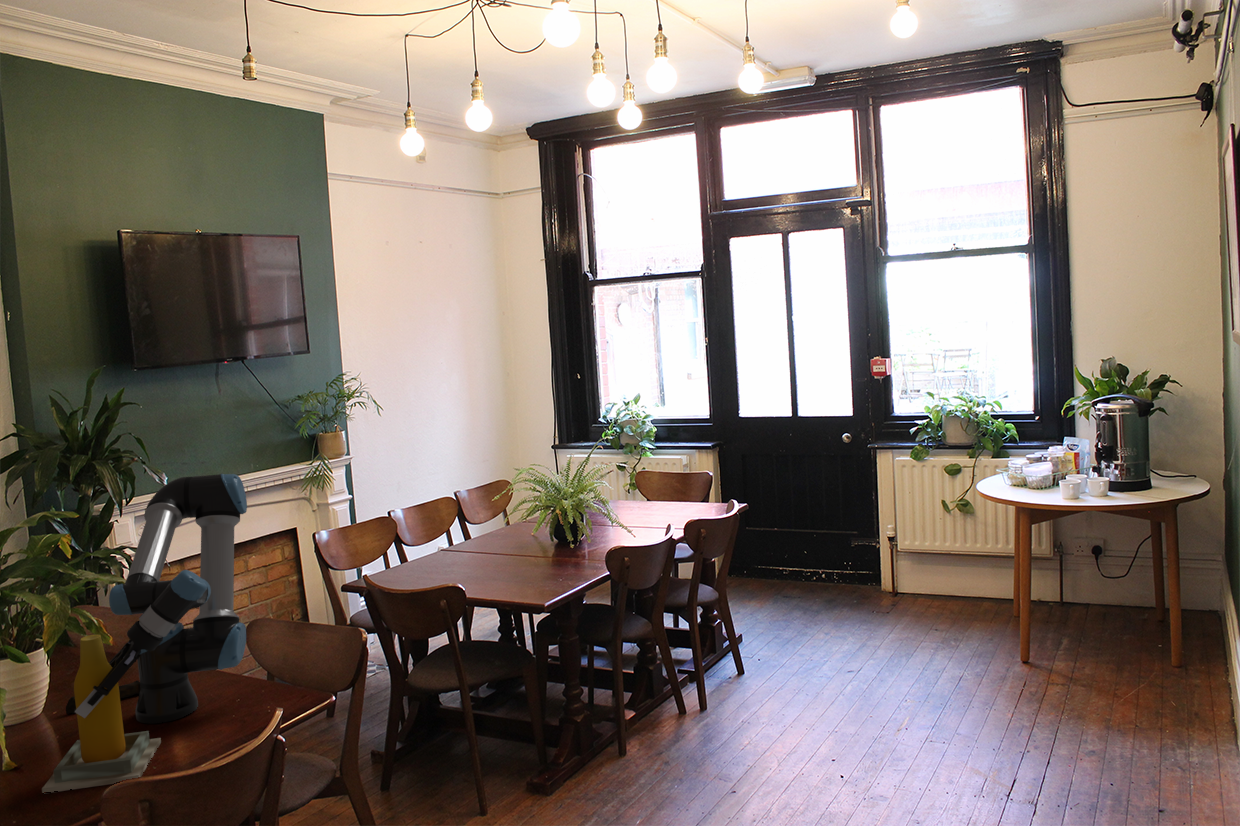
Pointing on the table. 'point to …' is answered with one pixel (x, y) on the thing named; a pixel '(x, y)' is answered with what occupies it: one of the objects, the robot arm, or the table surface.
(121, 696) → the hand tool
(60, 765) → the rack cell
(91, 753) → the beer bottle
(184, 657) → the robot arm
